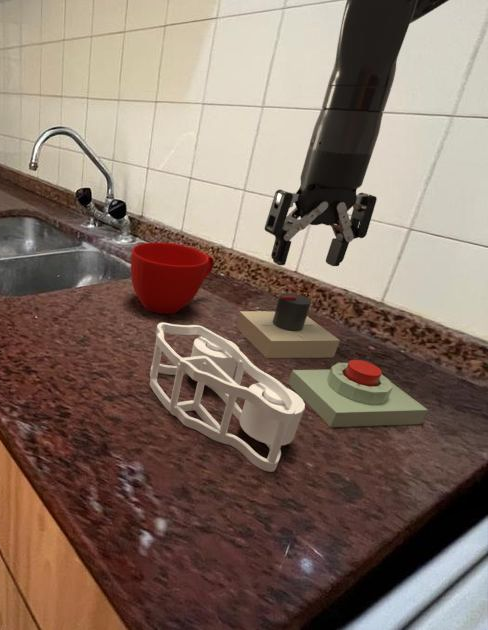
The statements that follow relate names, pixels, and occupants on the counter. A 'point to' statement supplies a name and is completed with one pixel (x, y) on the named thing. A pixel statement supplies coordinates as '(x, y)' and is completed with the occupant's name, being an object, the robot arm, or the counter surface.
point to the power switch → (355, 399)
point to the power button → (363, 373)
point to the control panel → (286, 337)
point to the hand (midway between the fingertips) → (305, 264)
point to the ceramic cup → (168, 275)
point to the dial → (291, 311)
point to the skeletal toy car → (228, 393)
